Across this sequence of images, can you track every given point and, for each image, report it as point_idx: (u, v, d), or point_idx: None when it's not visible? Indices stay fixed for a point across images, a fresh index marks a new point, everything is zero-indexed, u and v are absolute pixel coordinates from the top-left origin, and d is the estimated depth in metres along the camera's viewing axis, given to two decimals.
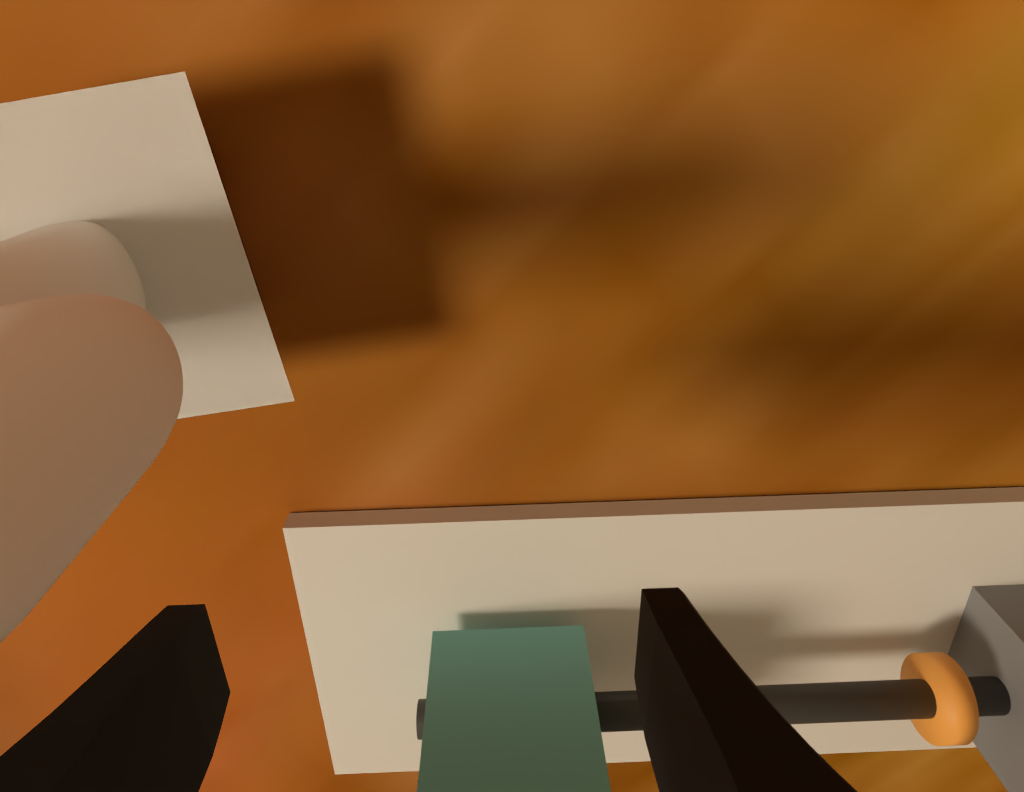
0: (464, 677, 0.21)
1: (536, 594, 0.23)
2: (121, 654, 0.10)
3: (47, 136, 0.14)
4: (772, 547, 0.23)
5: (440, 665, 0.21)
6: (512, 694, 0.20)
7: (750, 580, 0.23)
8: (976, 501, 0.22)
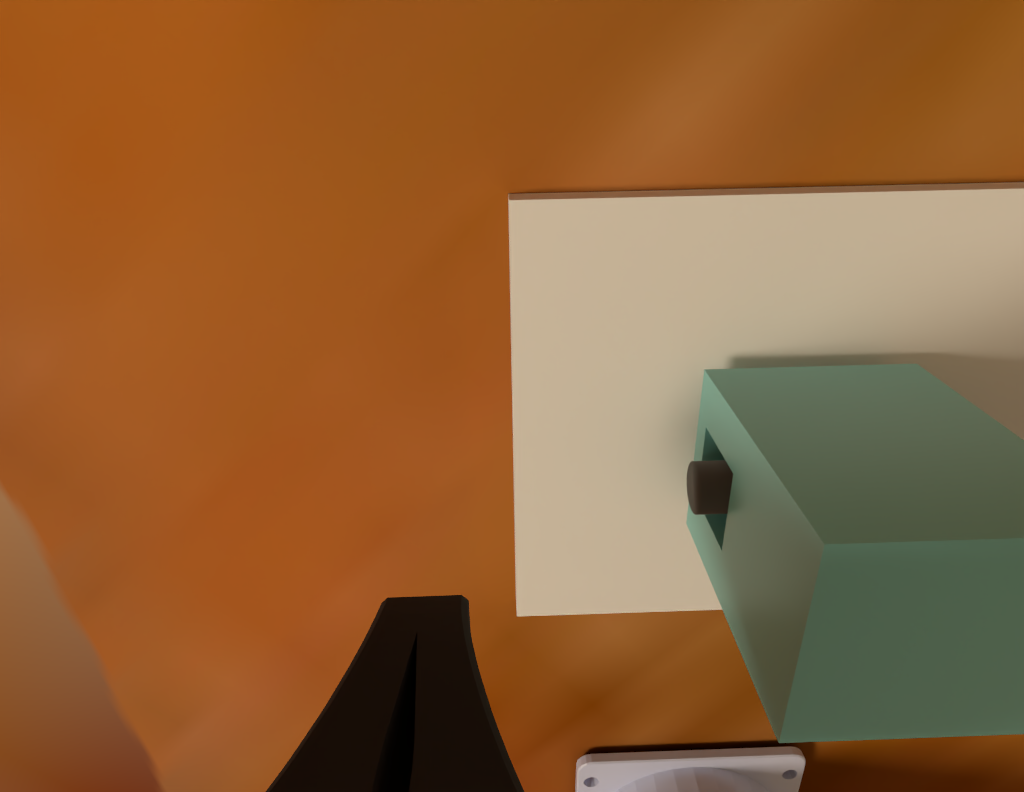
0: (783, 405, 0.14)
1: (845, 325, 0.16)
2: (371, 645, 0.10)
3: None
4: None
5: (738, 396, 0.15)
6: (868, 419, 0.14)
7: None
8: None
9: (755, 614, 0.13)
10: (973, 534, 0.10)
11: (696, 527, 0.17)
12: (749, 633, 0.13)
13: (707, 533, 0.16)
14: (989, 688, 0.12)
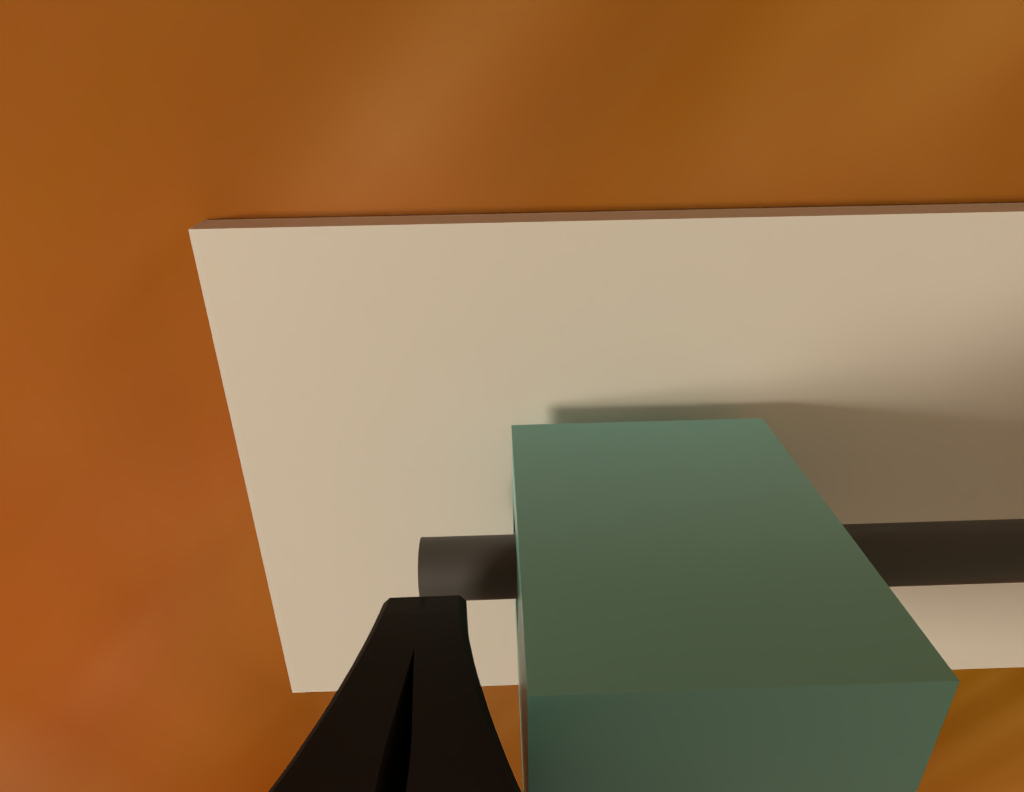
0: (578, 477, 0.12)
1: (617, 373, 0.14)
2: (374, 645, 0.10)
3: None
4: (1017, 287, 0.13)
5: (532, 462, 0.12)
6: (671, 498, 0.11)
7: (970, 353, 0.14)
8: None
9: None
10: (727, 680, 0.08)
11: (515, 604, 0.15)
12: None
13: (516, 617, 0.14)
14: None
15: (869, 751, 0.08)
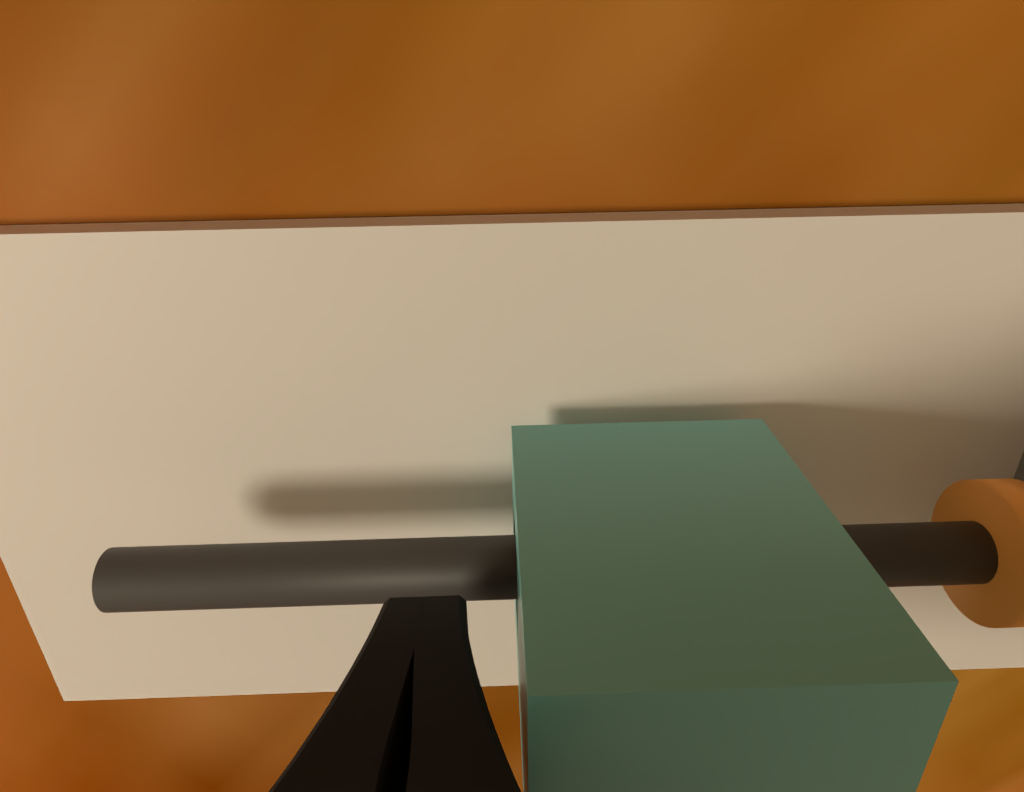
0: (578, 478, 0.12)
1: (328, 382, 0.14)
2: (374, 645, 0.10)
3: None
4: (720, 295, 0.13)
5: (532, 464, 0.12)
6: (670, 497, 0.11)
7: (684, 361, 0.14)
8: None
9: None
10: (727, 680, 0.08)
11: (515, 605, 0.15)
12: None
13: (516, 618, 0.14)
14: None
15: (869, 753, 0.08)
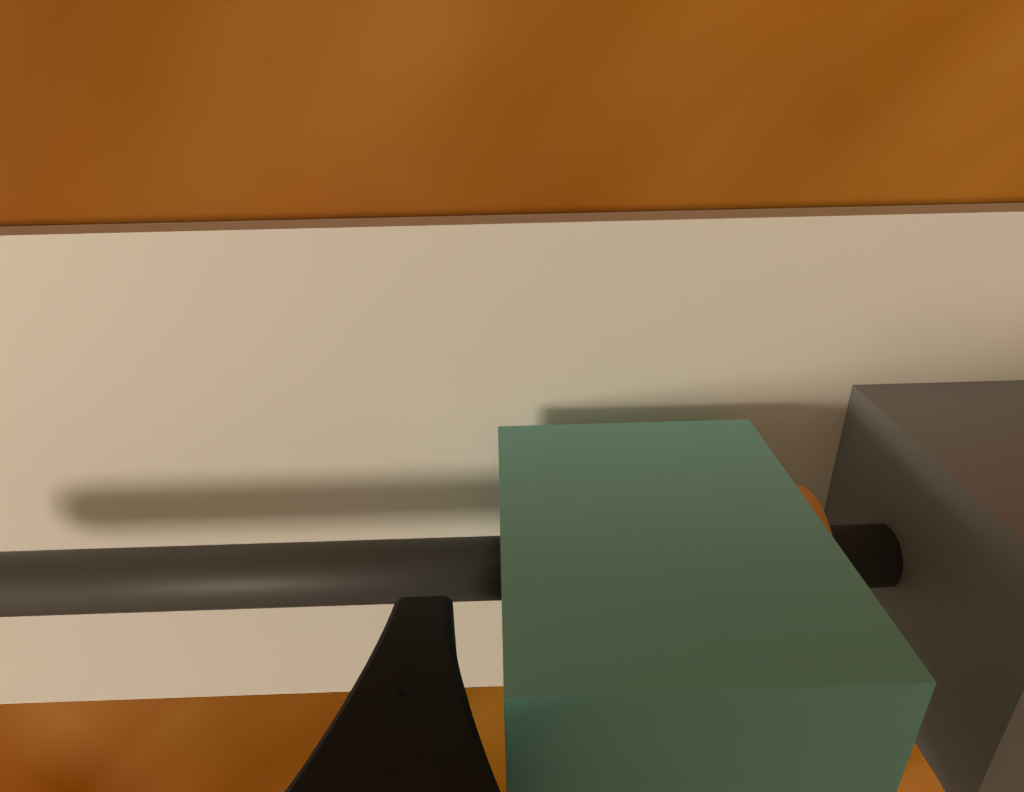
0: (563, 478, 0.12)
1: (118, 388, 0.14)
2: (387, 644, 0.10)
3: None
4: (504, 300, 0.13)
5: (517, 464, 0.12)
6: (654, 498, 0.11)
7: (477, 366, 0.14)
8: None
9: None
10: (704, 681, 0.08)
11: None
12: None
13: None
14: None
15: (848, 753, 0.08)
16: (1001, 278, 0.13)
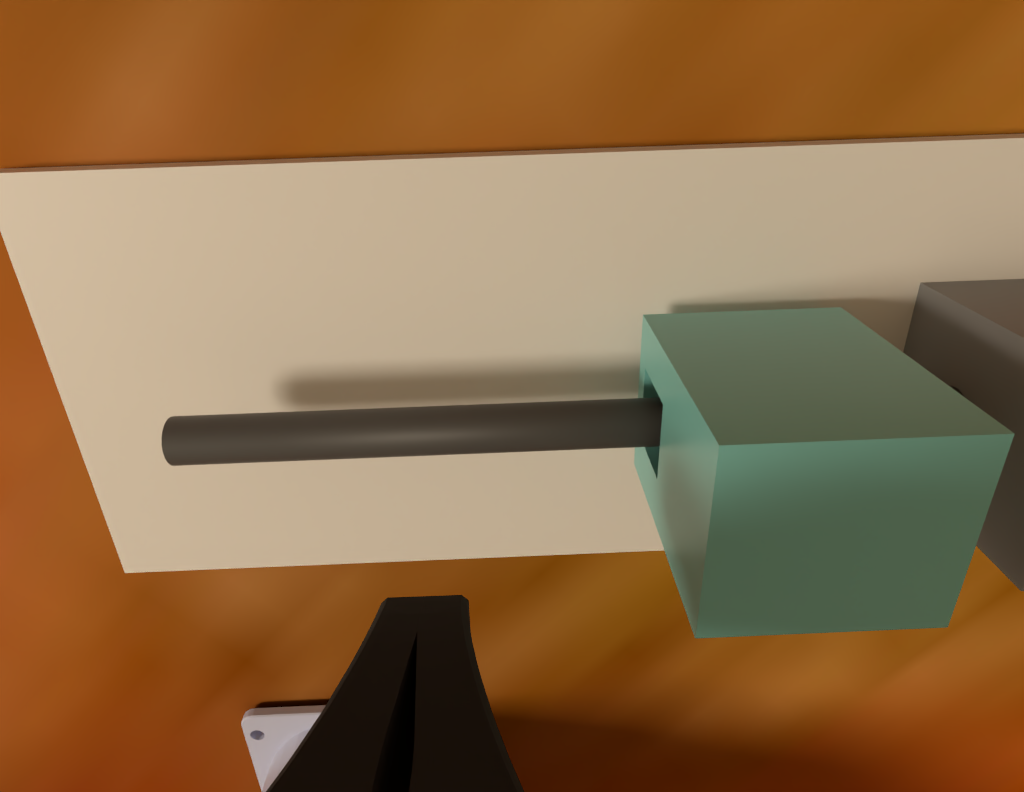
0: (709, 342, 0.15)
1: (341, 289, 0.17)
2: (371, 645, 0.10)
3: None
4: (649, 213, 0.17)
5: (669, 334, 0.16)
6: (784, 351, 0.15)
7: (624, 269, 0.17)
8: (920, 142, 0.16)
9: (679, 528, 0.14)
10: (854, 436, 0.12)
11: (640, 463, 0.18)
12: (675, 547, 0.15)
13: (648, 467, 0.17)
14: (882, 584, 0.13)
15: (950, 494, 0.12)
16: None
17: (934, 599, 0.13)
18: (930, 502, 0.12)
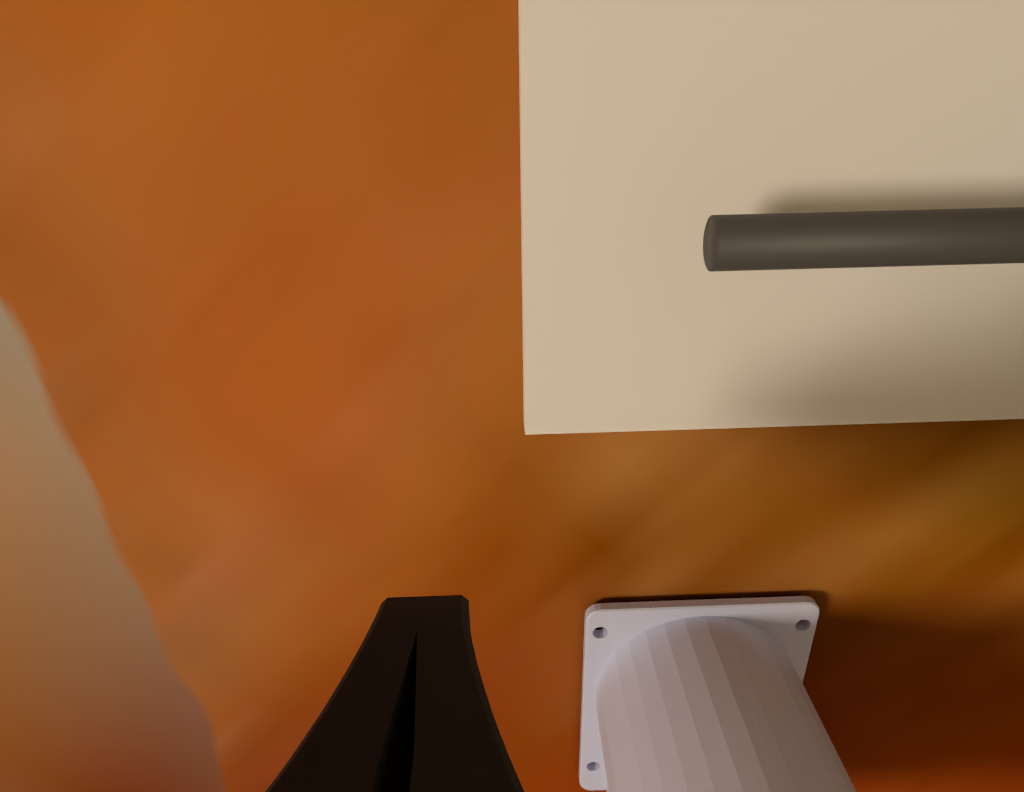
0: None
1: (867, 88, 0.16)
2: (371, 645, 0.10)
3: None
4: None
5: None
6: None
7: None
8: None
9: None
10: None
11: None
12: None
13: None
14: None
15: None
16: None
17: None
18: None
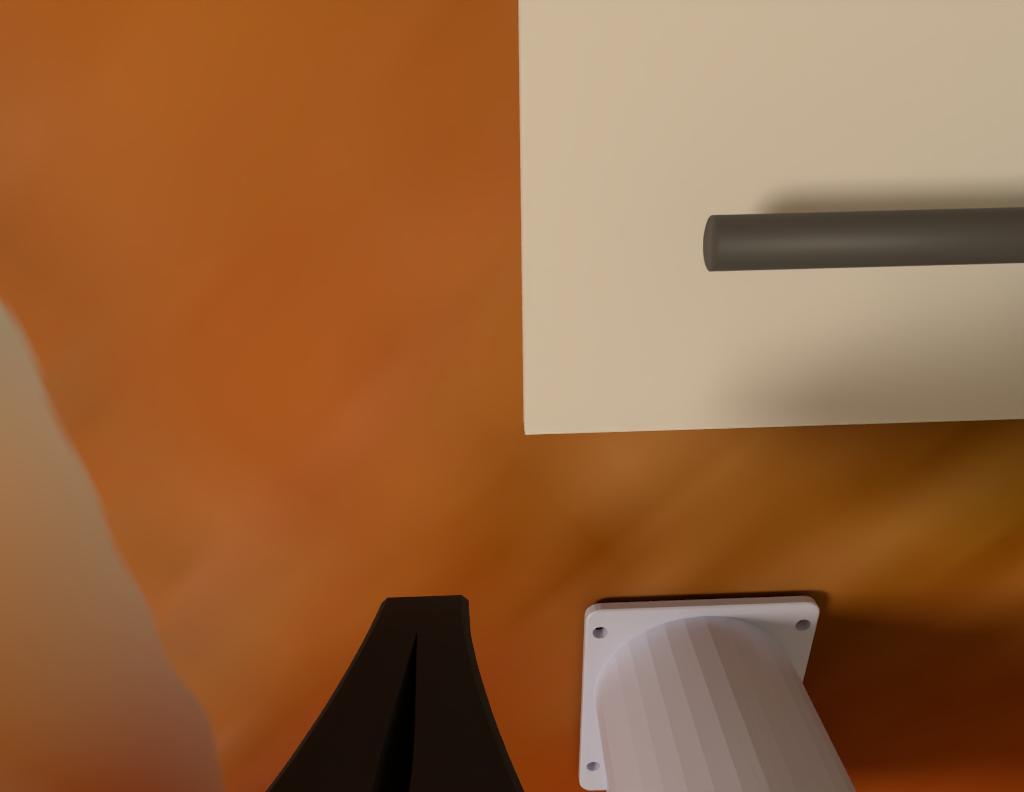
0: None
1: (867, 88, 0.16)
2: (371, 645, 0.10)
3: None
4: None
5: None
6: None
7: None
8: None
9: None
10: None
11: None
12: None
13: None
14: None
15: None
16: None
17: None
18: None
